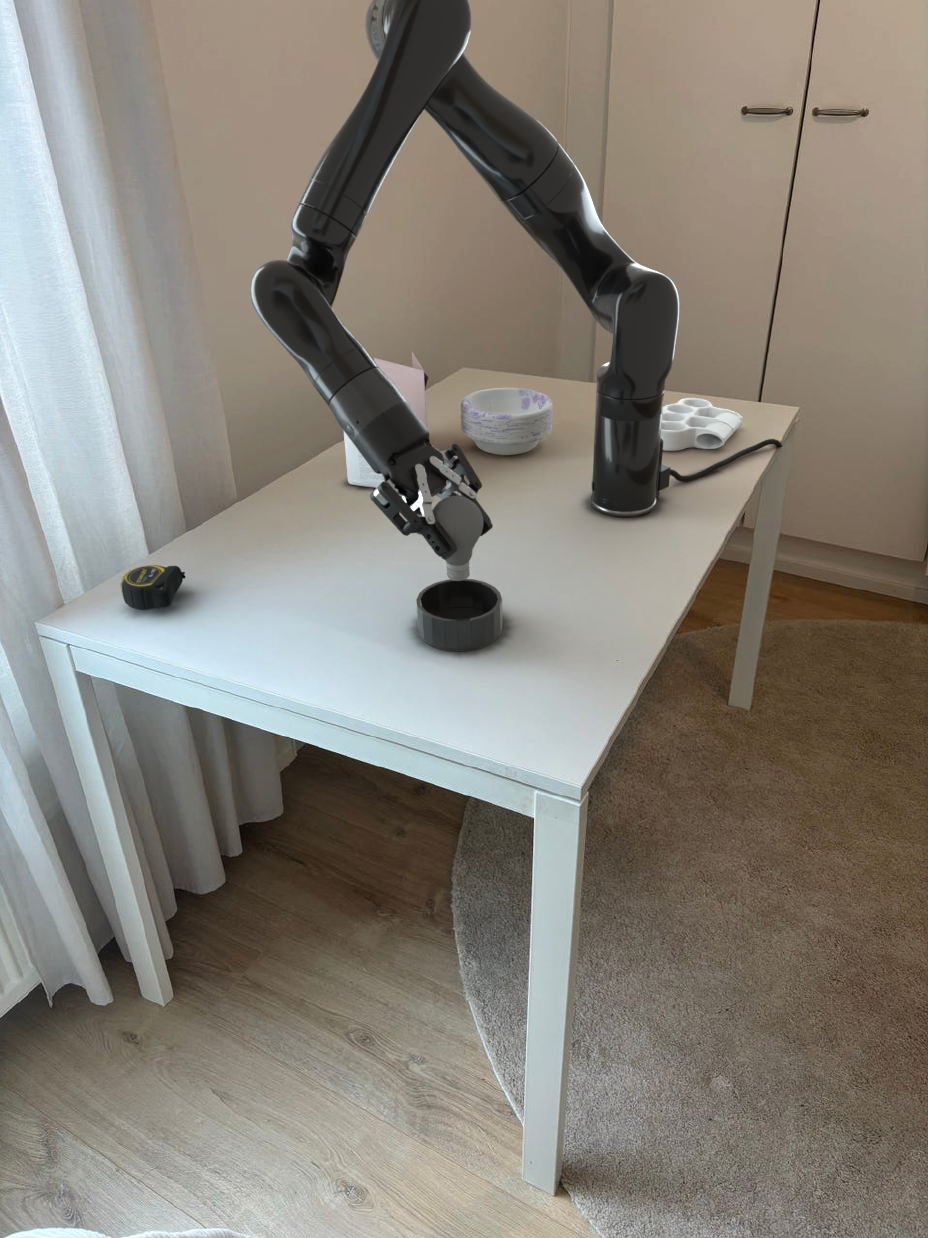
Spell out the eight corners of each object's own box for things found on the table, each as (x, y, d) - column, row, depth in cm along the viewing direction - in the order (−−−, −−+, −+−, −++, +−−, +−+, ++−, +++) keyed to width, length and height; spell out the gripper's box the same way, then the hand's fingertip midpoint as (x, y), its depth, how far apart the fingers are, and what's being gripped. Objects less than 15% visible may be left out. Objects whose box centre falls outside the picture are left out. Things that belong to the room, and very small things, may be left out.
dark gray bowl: (462, 598, 117) (461, 570, 115) (519, 628, 111) (519, 598, 109) (401, 628, 112) (399, 599, 110) (457, 661, 106) (456, 631, 104)
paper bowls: (567, 438, 162) (568, 393, 158) (523, 469, 152) (524, 421, 147) (491, 424, 170) (490, 380, 165) (444, 452, 159) (442, 406, 155)
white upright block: (415, 482, 149) (411, 405, 142) (406, 493, 145) (401, 415, 139) (355, 476, 151) (347, 400, 145) (344, 486, 148) (336, 409, 141)
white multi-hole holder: (715, 459, 153) (629, 445, 159) (746, 423, 166) (666, 411, 172) (718, 439, 151) (631, 425, 157) (749, 405, 164) (667, 393, 171)
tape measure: (171, 615, 116) (166, 589, 114) (117, 615, 116) (110, 589, 114) (188, 588, 122) (183, 562, 120) (135, 587, 122) (129, 562, 120)
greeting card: (433, 460, 156) (429, 370, 148) (389, 465, 155) (382, 374, 147) (421, 436, 166) (416, 350, 158) (379, 440, 164) (372, 354, 156)
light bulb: (479, 593, 105) (477, 511, 100) (426, 589, 106) (421, 508, 101) (489, 567, 110) (487, 488, 105) (438, 564, 111) (434, 485, 106)
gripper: (350, 421, 97) (448, 554, 97) (436, 382, 107) (525, 503, 107) (318, 460, 102) (411, 585, 103) (403, 419, 112) (487, 534, 112)
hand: (469, 542), depth 105 cm, fingers closed on light bulb, 6 cm apart
